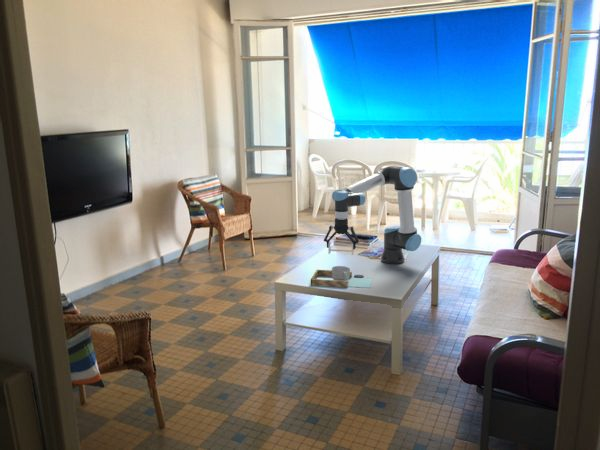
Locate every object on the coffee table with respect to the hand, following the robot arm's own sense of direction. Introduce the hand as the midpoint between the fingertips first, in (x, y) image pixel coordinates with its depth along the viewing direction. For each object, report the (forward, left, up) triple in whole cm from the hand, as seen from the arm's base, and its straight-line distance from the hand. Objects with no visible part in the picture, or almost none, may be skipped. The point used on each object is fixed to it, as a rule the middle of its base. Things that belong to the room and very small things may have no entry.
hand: (341, 253), depth 307 cm
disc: (-9, -11, -17) cm, 22 cm away
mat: (-11, 0, -17) cm, 20 cm away
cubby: (+5, 0, -17) cm, 18 cm away
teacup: (0, 0, -17) cm, 17 cm away
